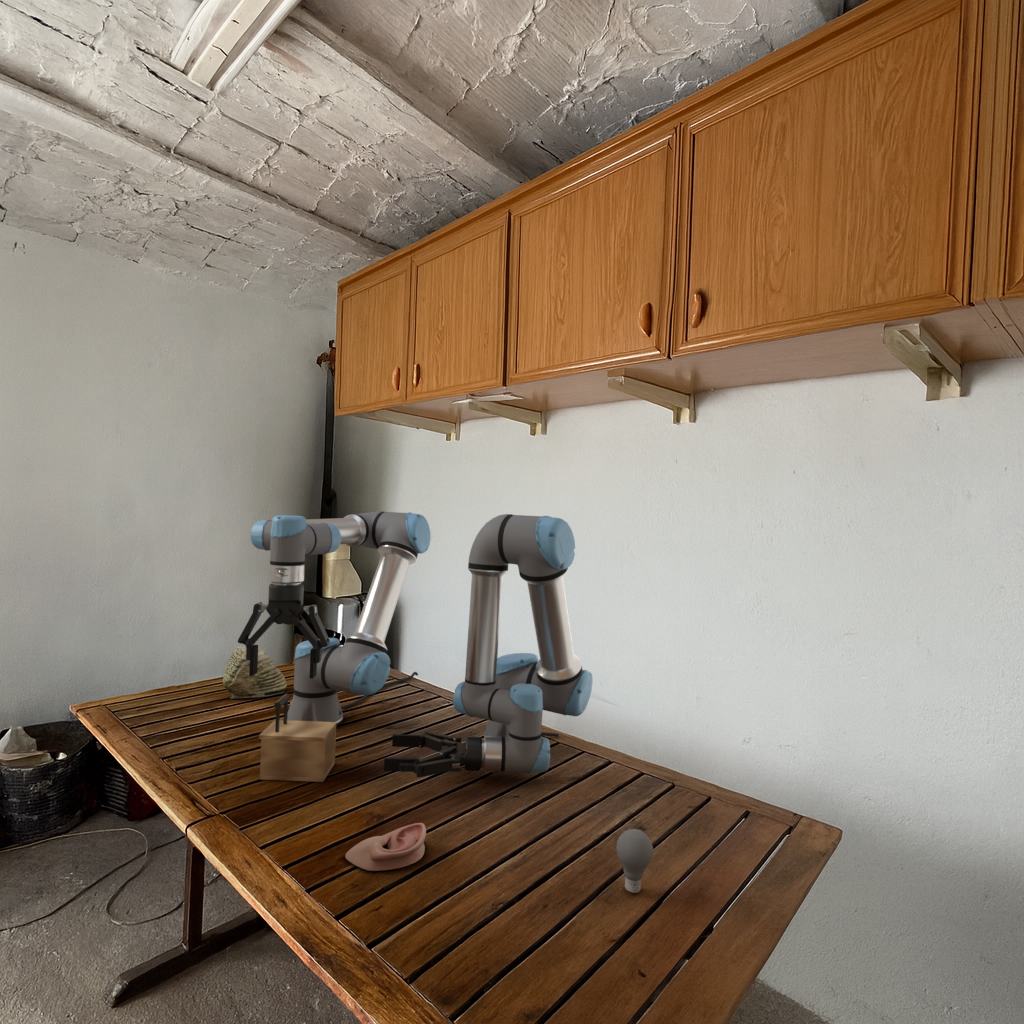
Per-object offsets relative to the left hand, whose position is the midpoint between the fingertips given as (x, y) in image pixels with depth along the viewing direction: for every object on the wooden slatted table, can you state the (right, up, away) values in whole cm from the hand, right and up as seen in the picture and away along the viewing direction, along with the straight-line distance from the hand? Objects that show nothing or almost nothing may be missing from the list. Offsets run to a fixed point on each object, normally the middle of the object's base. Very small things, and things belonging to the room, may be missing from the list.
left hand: (283, 675), depth 145 cm
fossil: (-28, -20, +53) cm, 63 cm away
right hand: (+24, -17, -1) cm, 30 cm away
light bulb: (+73, -26, -39) cm, 86 cm away
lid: (+3, -13, 0) cm, 14 cm away
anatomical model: (+30, -24, -32) cm, 50 cm away
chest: (+3, -22, +1) cm, 22 cm away
